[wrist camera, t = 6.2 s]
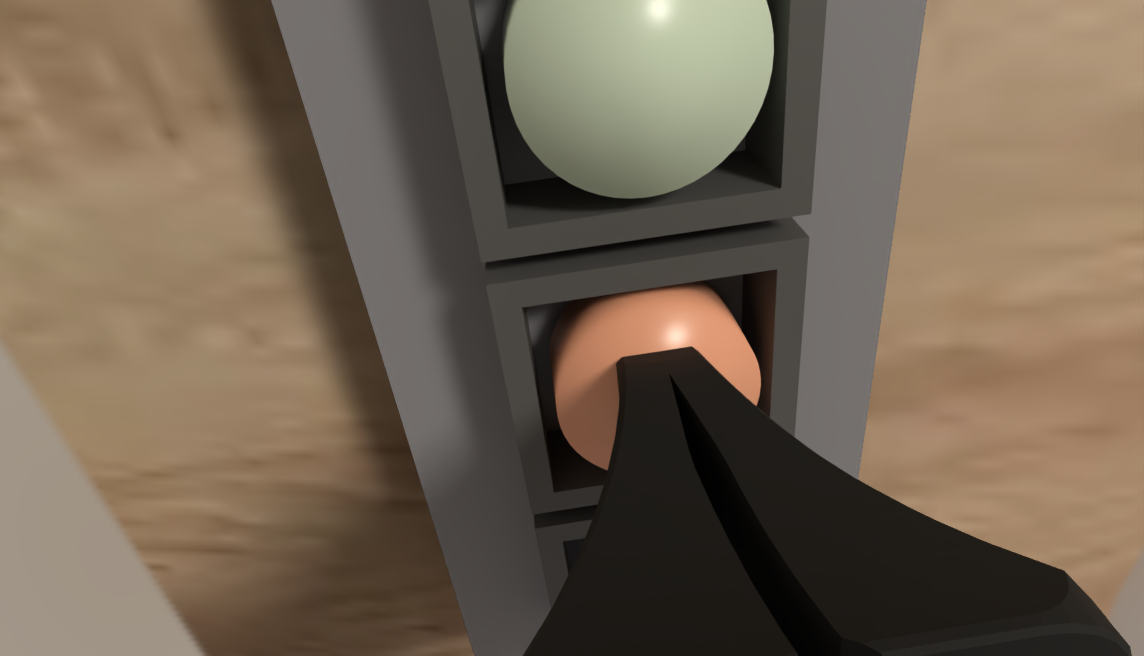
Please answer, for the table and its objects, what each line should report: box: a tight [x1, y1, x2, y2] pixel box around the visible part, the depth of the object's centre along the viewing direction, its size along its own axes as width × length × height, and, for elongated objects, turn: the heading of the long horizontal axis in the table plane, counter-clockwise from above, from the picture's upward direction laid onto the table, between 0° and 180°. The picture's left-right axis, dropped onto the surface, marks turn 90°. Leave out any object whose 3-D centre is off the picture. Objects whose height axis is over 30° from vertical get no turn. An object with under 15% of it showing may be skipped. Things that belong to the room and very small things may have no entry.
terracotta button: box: [549, 280, 761, 470], centre depth 13 cm, size 4×4×2 cm
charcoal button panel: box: [271, 0, 927, 656], centre depth 15 cm, size 21×10×5 cm, turn 6°
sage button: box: [502, 0, 774, 199], centre depth 10 cm, size 4×4×2 cm
